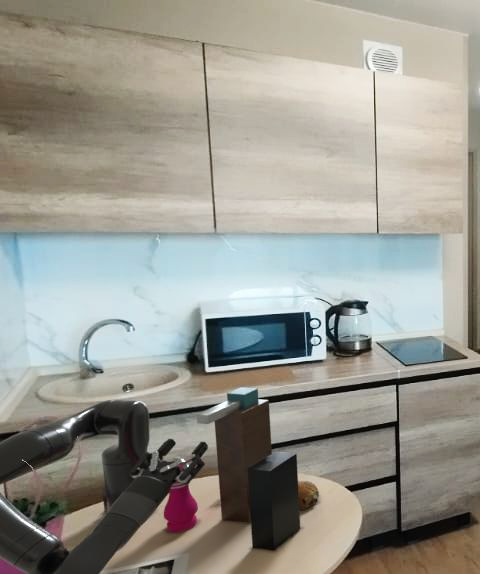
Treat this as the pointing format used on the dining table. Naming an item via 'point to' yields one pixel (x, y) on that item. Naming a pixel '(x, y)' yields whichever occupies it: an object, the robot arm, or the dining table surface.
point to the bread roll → (307, 494)
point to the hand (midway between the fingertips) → (189, 442)
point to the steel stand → (274, 500)
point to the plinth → (240, 456)
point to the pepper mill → (180, 507)
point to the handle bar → (230, 405)
